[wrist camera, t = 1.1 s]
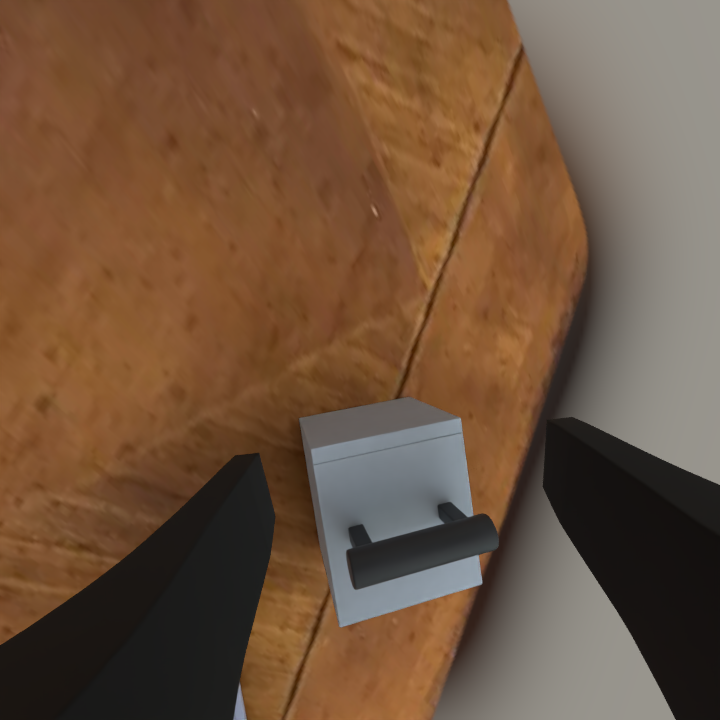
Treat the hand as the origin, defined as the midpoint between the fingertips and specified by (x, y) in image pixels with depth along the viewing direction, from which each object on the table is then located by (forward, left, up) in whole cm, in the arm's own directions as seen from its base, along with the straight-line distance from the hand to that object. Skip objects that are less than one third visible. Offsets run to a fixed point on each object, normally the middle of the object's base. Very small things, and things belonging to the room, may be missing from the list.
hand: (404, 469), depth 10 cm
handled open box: (-4, -1, -11) cm, 12 cm away
